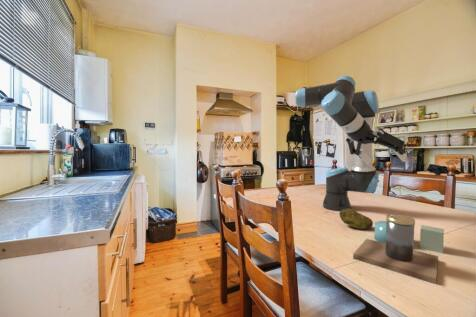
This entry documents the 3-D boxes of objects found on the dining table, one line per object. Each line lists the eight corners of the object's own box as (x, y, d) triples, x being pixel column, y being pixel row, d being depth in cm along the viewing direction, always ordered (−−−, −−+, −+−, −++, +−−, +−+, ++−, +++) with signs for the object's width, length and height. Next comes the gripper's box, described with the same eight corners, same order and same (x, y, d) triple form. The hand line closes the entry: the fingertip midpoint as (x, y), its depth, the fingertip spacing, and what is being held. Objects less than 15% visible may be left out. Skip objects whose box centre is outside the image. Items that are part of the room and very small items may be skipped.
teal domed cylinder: (371, 241, 85) (371, 225, 85) (377, 233, 92) (378, 219, 92) (403, 249, 78) (404, 232, 78) (407, 240, 85) (408, 225, 85)
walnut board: (353, 258, 72) (353, 253, 72) (366, 242, 83) (366, 238, 83) (435, 284, 58) (435, 278, 58) (438, 260, 70) (438, 256, 70)
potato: (370, 233, 92) (371, 214, 92) (337, 227, 100) (337, 209, 100) (373, 227, 98) (373, 209, 98) (342, 222, 106) (342, 205, 106)
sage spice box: (419, 248, 79) (420, 228, 78) (421, 243, 82) (421, 225, 82) (442, 253, 74) (443, 233, 74) (443, 248, 78) (443, 228, 78)
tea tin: (383, 256, 70) (384, 218, 69) (386, 248, 75) (388, 212, 74) (412, 264, 65) (414, 223, 64) (414, 255, 70) (416, 217, 70)
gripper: (324, 139, 92) (354, 169, 98) (386, 126, 70) (420, 166, 76) (331, 126, 94) (359, 156, 101) (393, 108, 72) (425, 148, 78)
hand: (385, 160), depth 88 cm, fingers open, 13 cm apart
